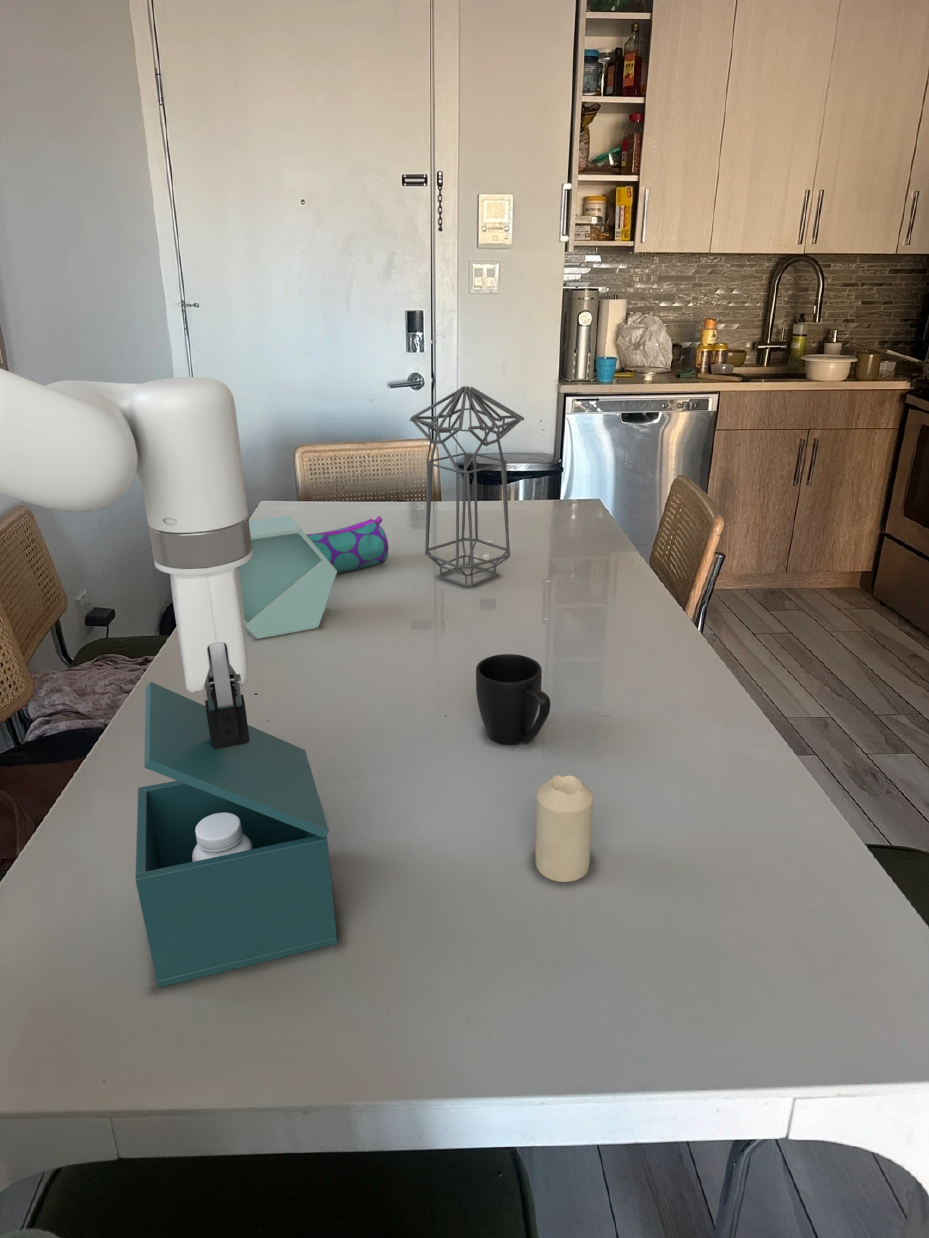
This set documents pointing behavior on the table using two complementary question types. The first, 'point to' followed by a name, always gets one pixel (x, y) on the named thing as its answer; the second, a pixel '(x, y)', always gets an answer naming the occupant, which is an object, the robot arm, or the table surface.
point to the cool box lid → (230, 763)
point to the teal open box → (226, 887)
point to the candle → (563, 828)
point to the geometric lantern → (466, 472)
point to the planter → (283, 579)
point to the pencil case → (353, 545)
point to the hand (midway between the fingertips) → (230, 741)
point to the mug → (511, 698)
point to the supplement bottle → (219, 837)
